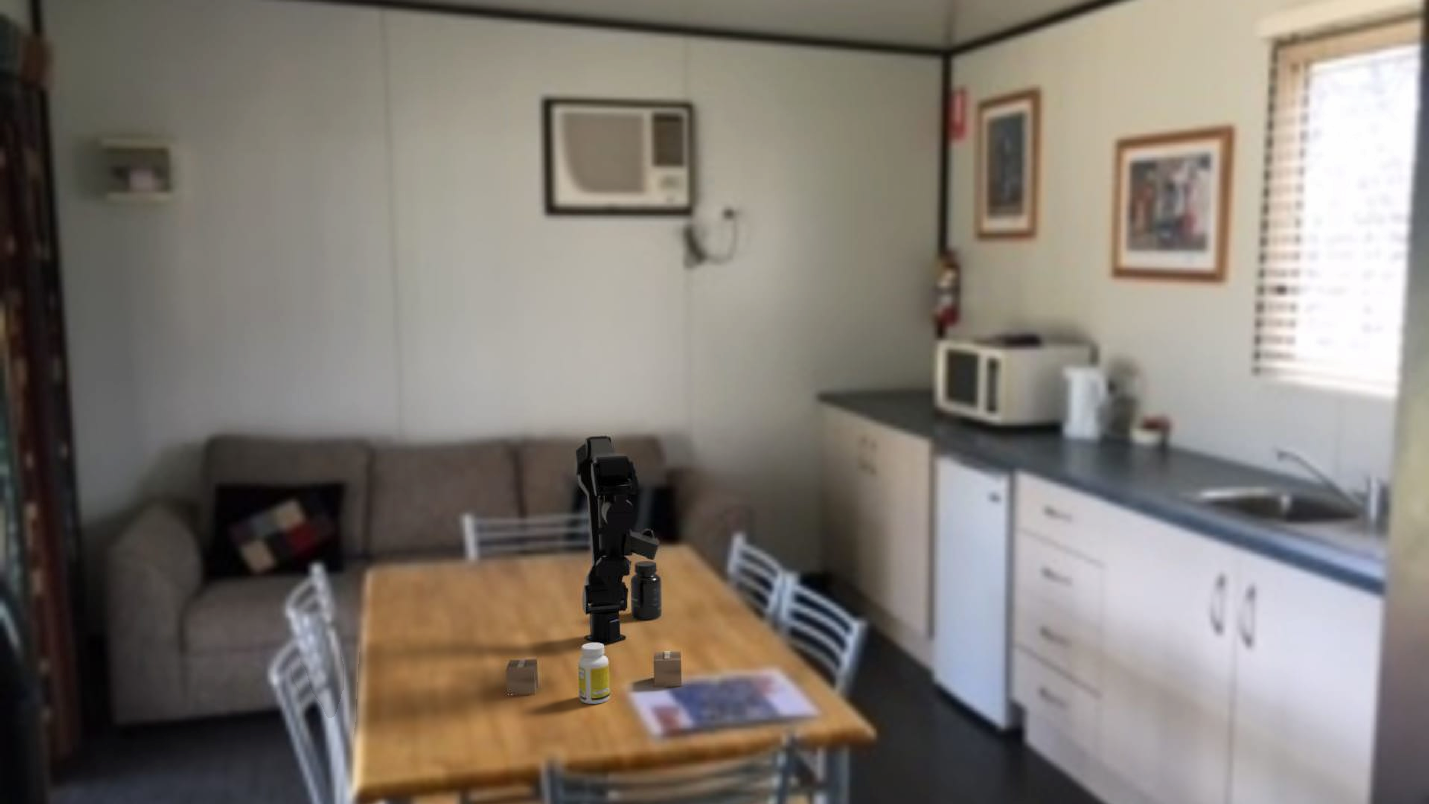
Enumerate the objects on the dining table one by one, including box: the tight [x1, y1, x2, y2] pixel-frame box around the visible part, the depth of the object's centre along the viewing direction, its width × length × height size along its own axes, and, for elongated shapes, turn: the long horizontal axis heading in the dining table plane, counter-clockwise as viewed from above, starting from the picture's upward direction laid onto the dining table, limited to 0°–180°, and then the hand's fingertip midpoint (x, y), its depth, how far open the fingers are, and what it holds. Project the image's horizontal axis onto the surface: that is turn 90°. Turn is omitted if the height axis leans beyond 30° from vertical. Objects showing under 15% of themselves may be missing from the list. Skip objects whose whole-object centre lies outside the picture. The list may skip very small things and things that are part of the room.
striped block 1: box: [505, 658, 539, 696], centre depth 210 cm, size 5×5×5 cm
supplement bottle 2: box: [630, 560, 663, 621], centre depth 254 cm, size 7×7×12 cm
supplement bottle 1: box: [577, 642, 611, 705], centre depth 205 cm, size 5×5×10 cm
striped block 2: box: [653, 650, 683, 688], centre depth 213 cm, size 5×5×5 cm
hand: (616, 601), depth 220 cm, fingers closed
